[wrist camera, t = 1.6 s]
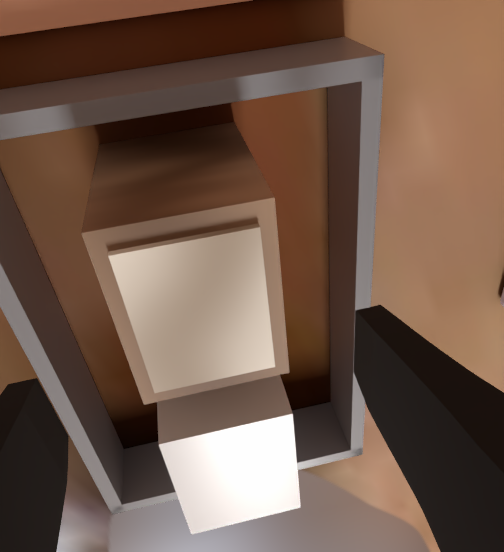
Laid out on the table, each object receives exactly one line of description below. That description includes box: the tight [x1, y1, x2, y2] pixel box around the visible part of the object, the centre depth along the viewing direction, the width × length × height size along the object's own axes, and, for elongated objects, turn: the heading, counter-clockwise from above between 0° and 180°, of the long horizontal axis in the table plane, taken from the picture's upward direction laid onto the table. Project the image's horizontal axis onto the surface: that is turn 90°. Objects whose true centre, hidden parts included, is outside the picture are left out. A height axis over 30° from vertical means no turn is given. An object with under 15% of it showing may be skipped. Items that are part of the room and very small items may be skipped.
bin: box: [0, 37, 384, 515], centre depth 19 cm, size 12×18×3 cm
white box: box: [157, 375, 301, 534], centre depth 20 cm, size 4×6×6 cm
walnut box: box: [81, 122, 289, 405], centre depth 15 cm, size 4×6×6 cm
